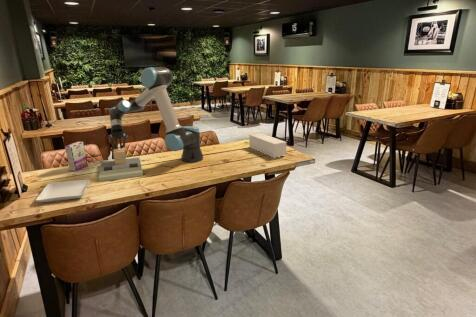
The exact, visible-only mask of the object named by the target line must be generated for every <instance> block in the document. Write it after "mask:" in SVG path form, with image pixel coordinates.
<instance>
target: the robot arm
mask: <svg viewBox="0 0 476 317" xmlns="http://www.w3.org/2000/svg"><path fill="white" fill-rule="evenodd" d="M173 80H174V76H173V73H172V71H171V69H170V68H167V67H165V66H153V67H152V66H150V67H146V68H144V69H143V70H142V72H141V75H140V81H141V84H142V86H144V87H145V89H144V90H143V91H142V92H141V93H140V94H139V95H138V96H136V97H135V99H133V100H130V101H129V100H127V99H126V100H125V99H122V100H120V101H119V102H118V103H117V104H116V105H115V106H112V107H111V108H110V109H109V120H110V129H111V133H110V134H109V135H107V138H108V139H109V141H110V143H111V145H112V147H113V149H115V150H116V149H125V147H126V143H127V142H126V141H127V138H128V133H125V132H124V129H123V127H124V126H123V121H122V120H123V119H122V118H123V117H124V116H125V115H126V114H128V113H135V112H140V111H143V110H144V109H145V106H146V104H147V103H149V102H150V101H151V100H152V99H154V101H155V103H156V106H157V108H158V111H159V113H160V116H161V118H162V121H163V124H164V125H165V129H166V131H165V138H164V143H165V146H166V147H167V149H169V150H170V151H172V152H178V151H181V150H182V153H181V159H180V160H181V161H182V162H185V163H197V162H201V161H203V160H204V154H203V151H202V149H201V135H200V134H201V131H200V128H199V127H198V126H190V125H187V126H186V125H185V126H182V125H180V122H179V120H178V117H177V115H176V111H175V109H174V107H173V105H172V101H171V98H170V97H169V96H170V95H169V93H168V91H167V88H168V87H169V86H170V85H171V84H172V82H173ZM122 138H123V141H122ZM113 139H114V140H113ZM118 140H119V144H118ZM114 142H115V143H114Z"/></svg>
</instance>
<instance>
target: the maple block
mask: <svg viewBox="0 0 476 317" xmlns="http://www.w3.org/2000/svg"><path fill="white" fill-rule="evenodd" d="M112 154H113V160H114V161H115V165H116V164H124V163H126V159H127V156H126V149H125V148H122V149H116V148H115V149H112Z"/></svg>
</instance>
